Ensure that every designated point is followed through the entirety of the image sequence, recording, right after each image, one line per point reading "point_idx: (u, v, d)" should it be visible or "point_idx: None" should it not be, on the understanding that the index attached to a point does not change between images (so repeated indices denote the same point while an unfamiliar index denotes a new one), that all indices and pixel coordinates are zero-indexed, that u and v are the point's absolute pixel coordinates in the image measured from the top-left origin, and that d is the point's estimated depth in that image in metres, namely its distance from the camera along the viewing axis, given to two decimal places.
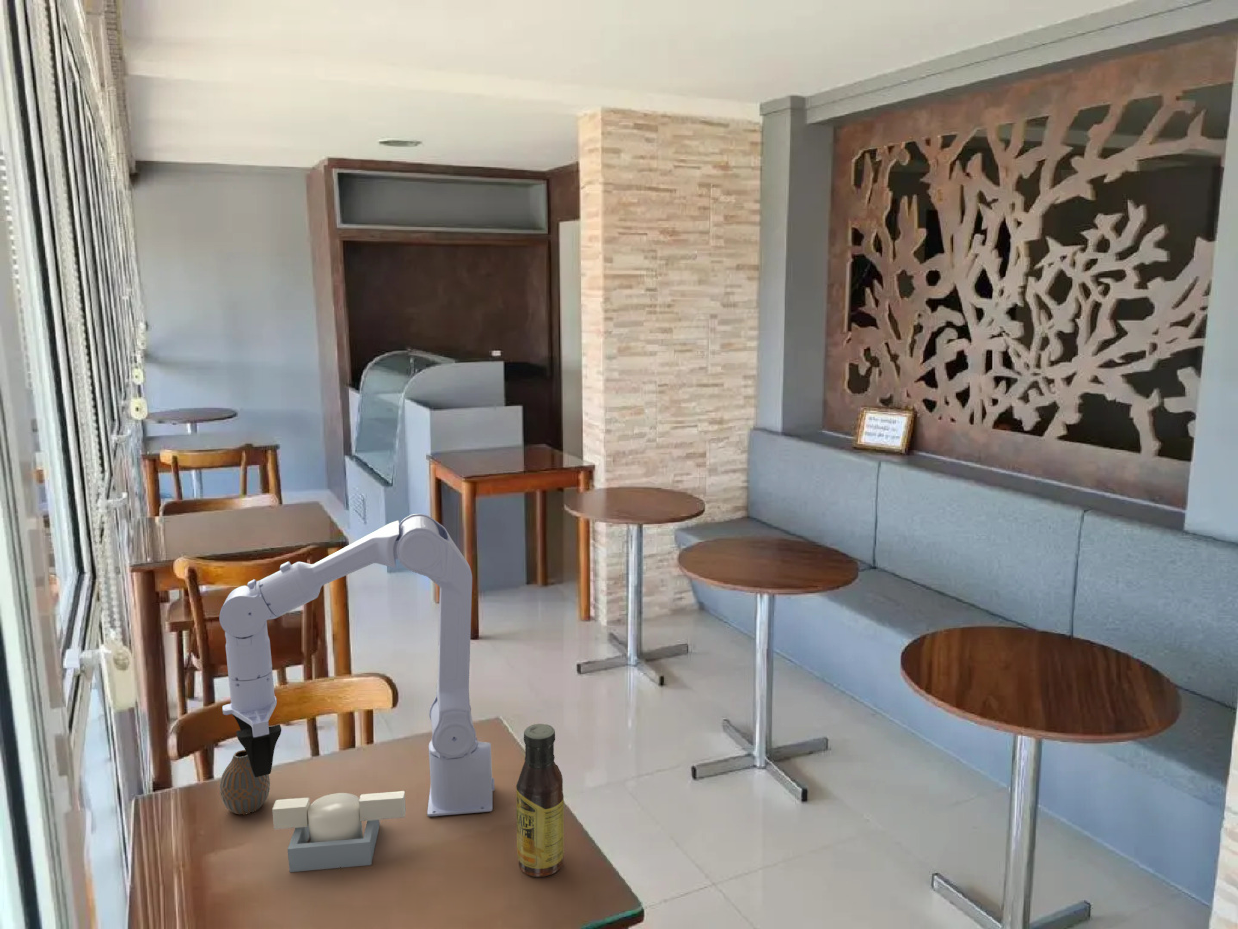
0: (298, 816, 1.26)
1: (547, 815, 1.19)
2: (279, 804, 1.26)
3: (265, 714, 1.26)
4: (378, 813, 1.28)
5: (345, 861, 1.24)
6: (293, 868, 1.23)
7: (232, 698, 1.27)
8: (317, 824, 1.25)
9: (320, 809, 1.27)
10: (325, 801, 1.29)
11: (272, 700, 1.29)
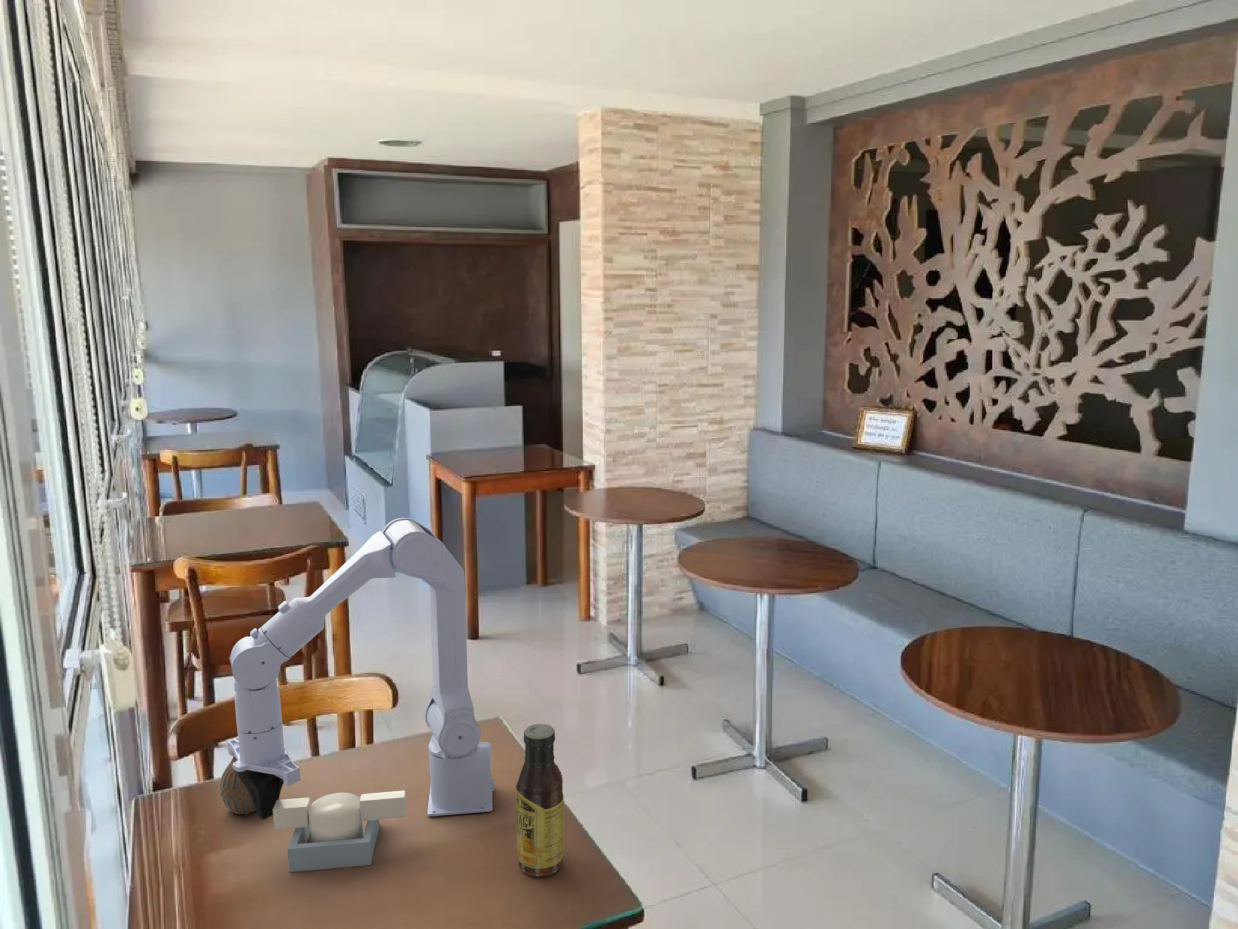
0: (299, 816, 1.26)
1: (547, 815, 1.19)
2: (279, 804, 1.26)
3: (288, 762, 1.24)
4: (379, 813, 1.28)
5: (345, 861, 1.24)
6: (293, 868, 1.23)
7: (247, 753, 1.23)
8: (318, 824, 1.25)
9: (321, 809, 1.27)
10: (325, 801, 1.29)
11: (284, 748, 1.27)
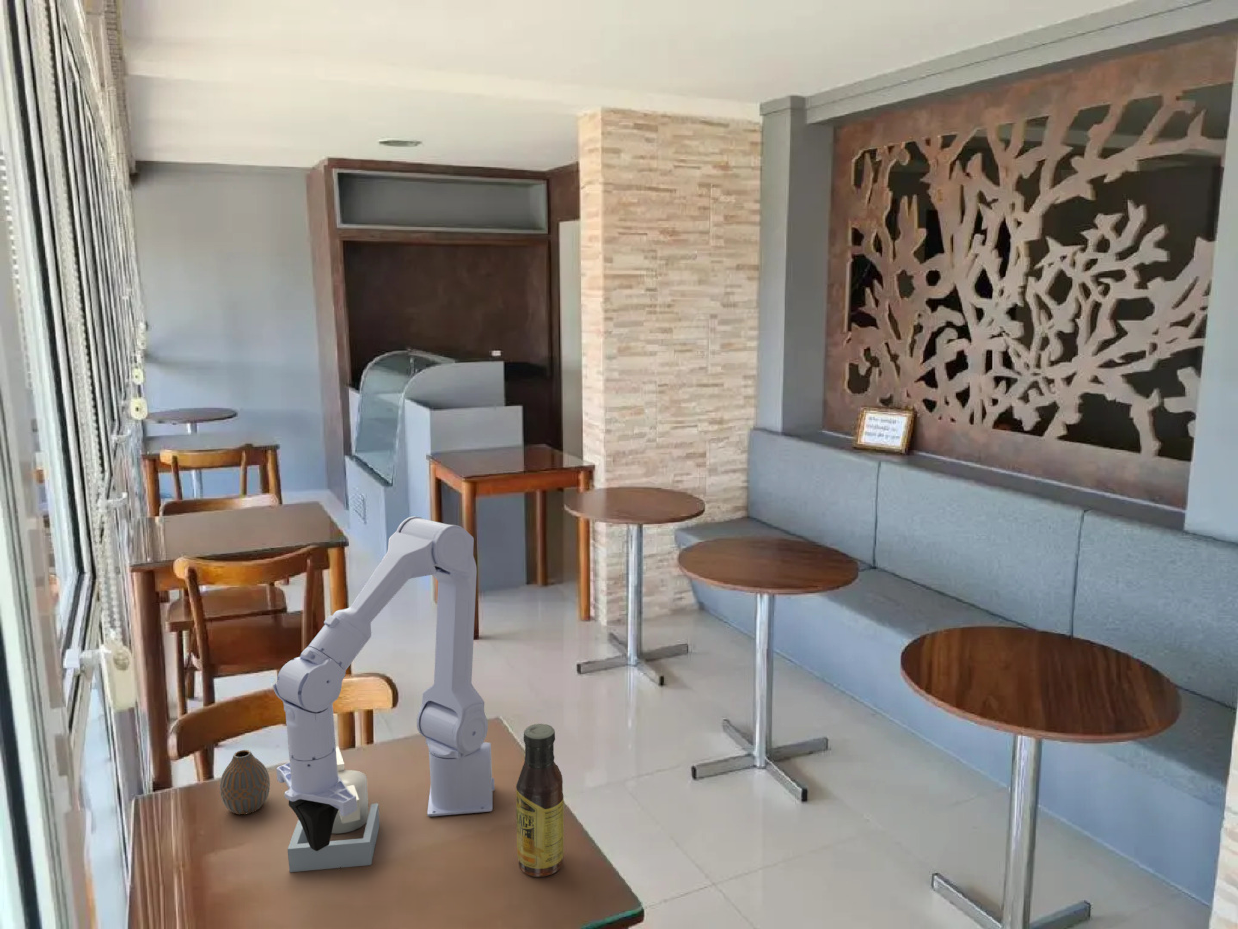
0: None
1: (547, 815, 1.19)
2: None
3: (343, 790, 1.17)
4: None
5: (345, 861, 1.24)
6: (293, 868, 1.23)
7: (300, 781, 1.16)
8: (365, 787, 1.34)
9: (347, 786, 1.33)
10: None
11: (337, 775, 1.20)
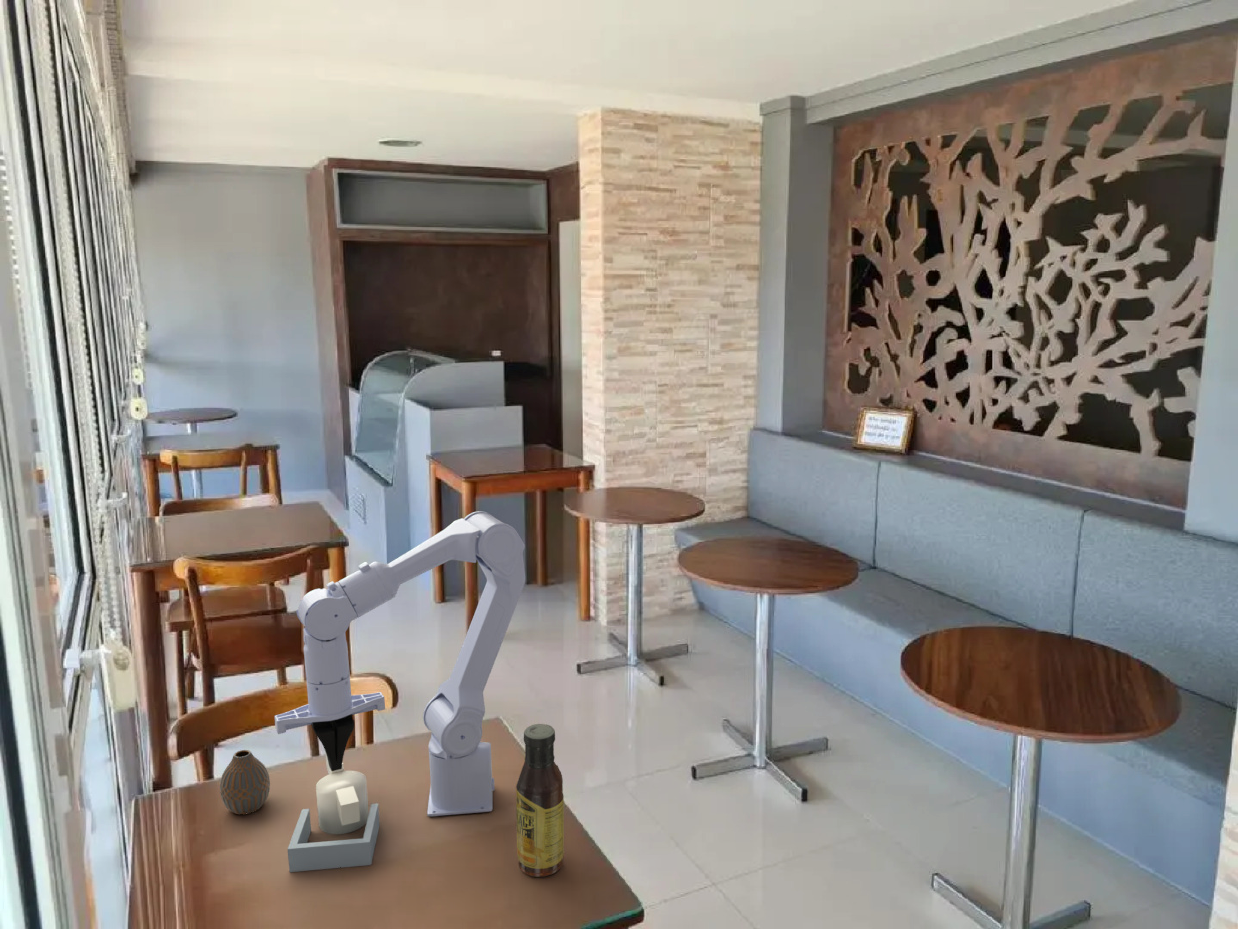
0: None
1: (547, 815, 1.19)
2: (349, 801, 1.27)
3: (296, 717, 1.25)
4: None
5: (345, 861, 1.24)
6: (293, 868, 1.23)
7: None
8: (364, 788, 1.34)
9: (346, 787, 1.32)
10: (332, 790, 1.32)
11: (322, 713, 1.25)
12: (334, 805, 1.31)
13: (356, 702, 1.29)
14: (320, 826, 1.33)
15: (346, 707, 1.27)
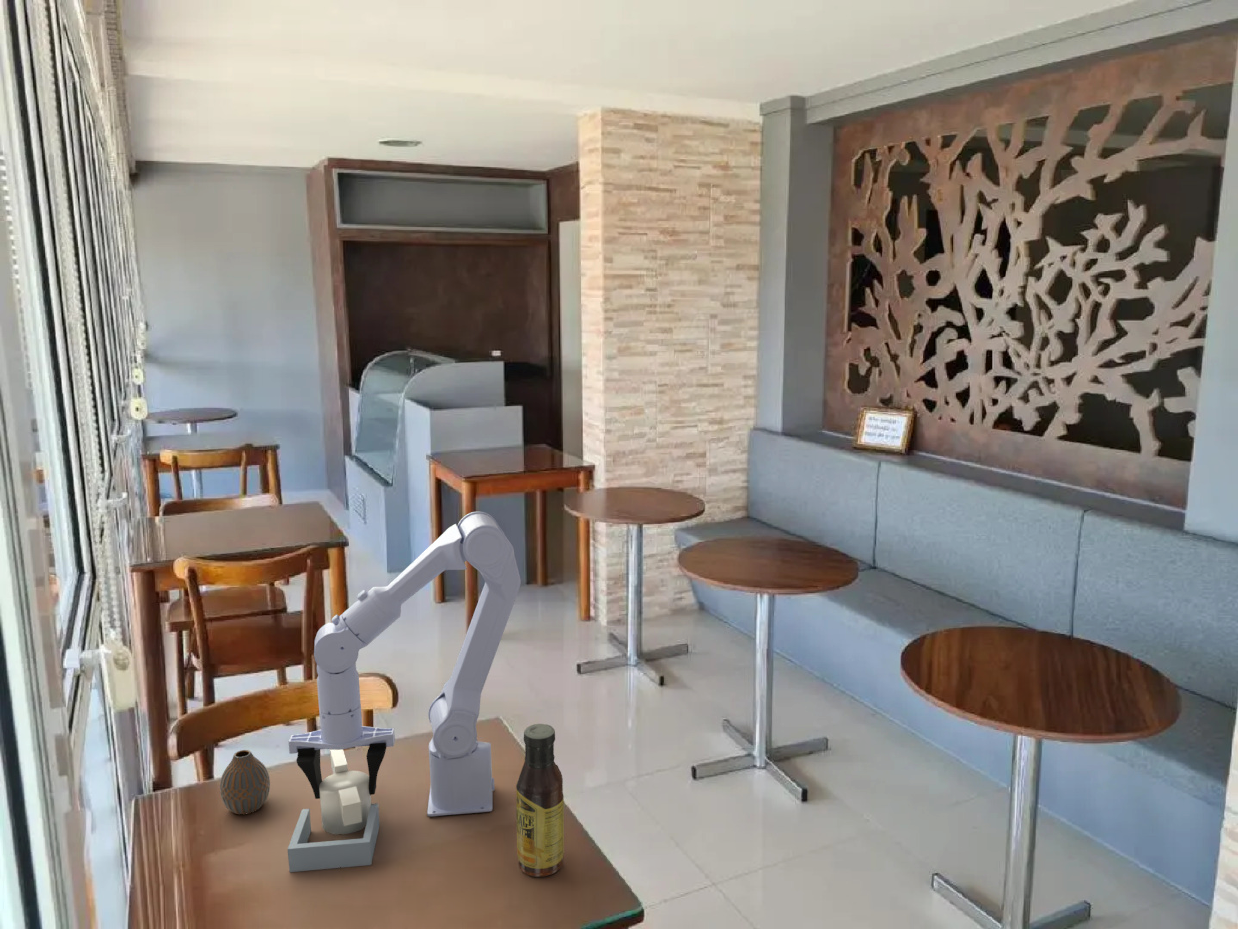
0: None
1: (547, 815, 1.19)
2: (351, 801, 1.27)
3: (306, 741, 1.31)
4: None
5: (345, 861, 1.24)
6: (293, 868, 1.23)
7: None
8: (367, 789, 1.33)
9: (349, 788, 1.32)
10: (335, 790, 1.32)
11: (327, 741, 1.30)
12: (337, 805, 1.31)
13: (366, 735, 1.33)
14: (323, 826, 1.33)
15: (352, 739, 1.31)
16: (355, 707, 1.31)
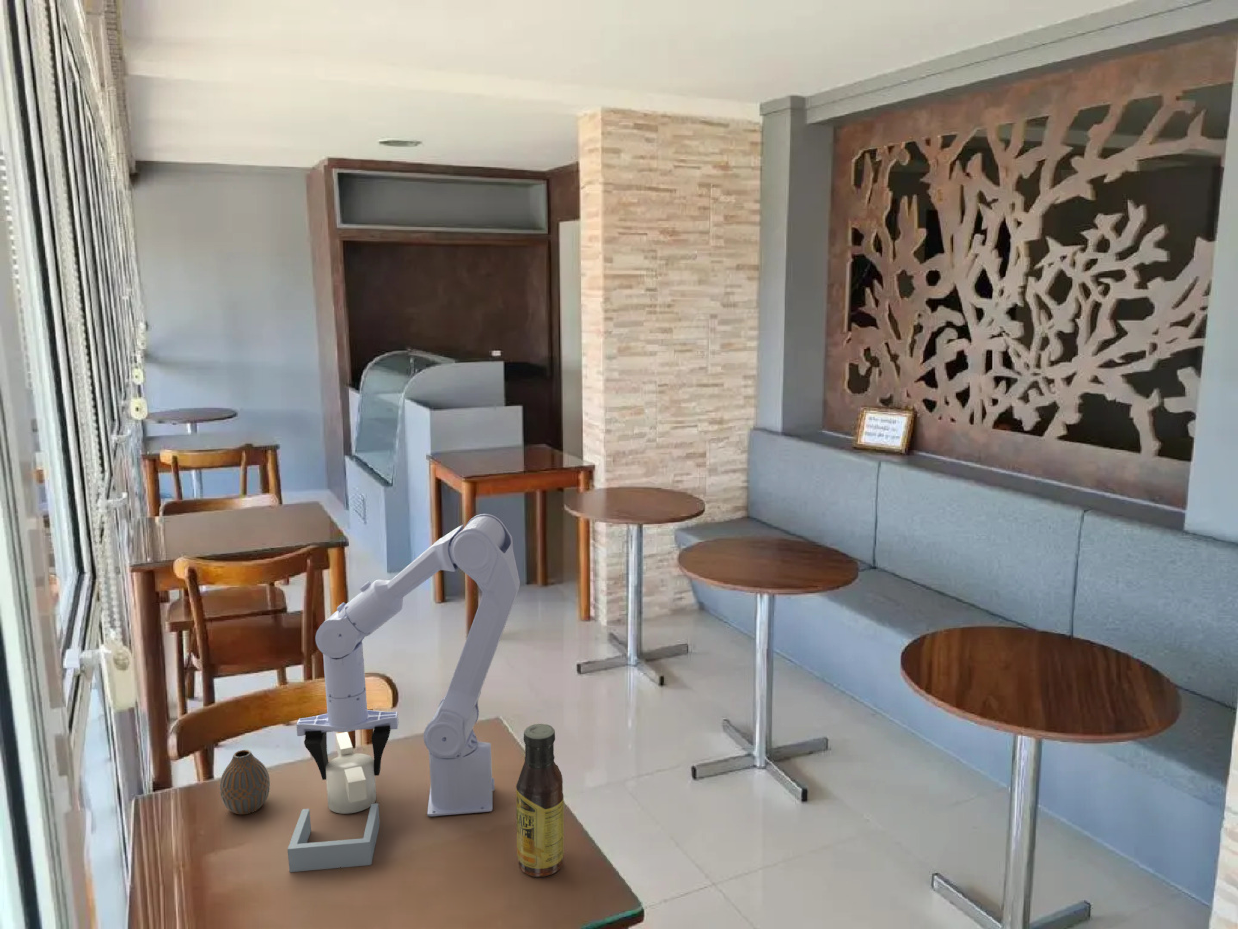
0: None
1: (547, 815, 1.19)
2: (357, 779, 1.32)
3: (314, 723, 1.37)
4: None
5: (345, 861, 1.24)
6: (293, 868, 1.23)
7: None
8: (372, 769, 1.38)
9: None
10: (341, 770, 1.37)
11: (334, 723, 1.36)
12: (343, 784, 1.35)
13: (371, 718, 1.39)
14: (329, 806, 1.38)
15: (357, 722, 1.36)
16: (355, 693, 1.35)
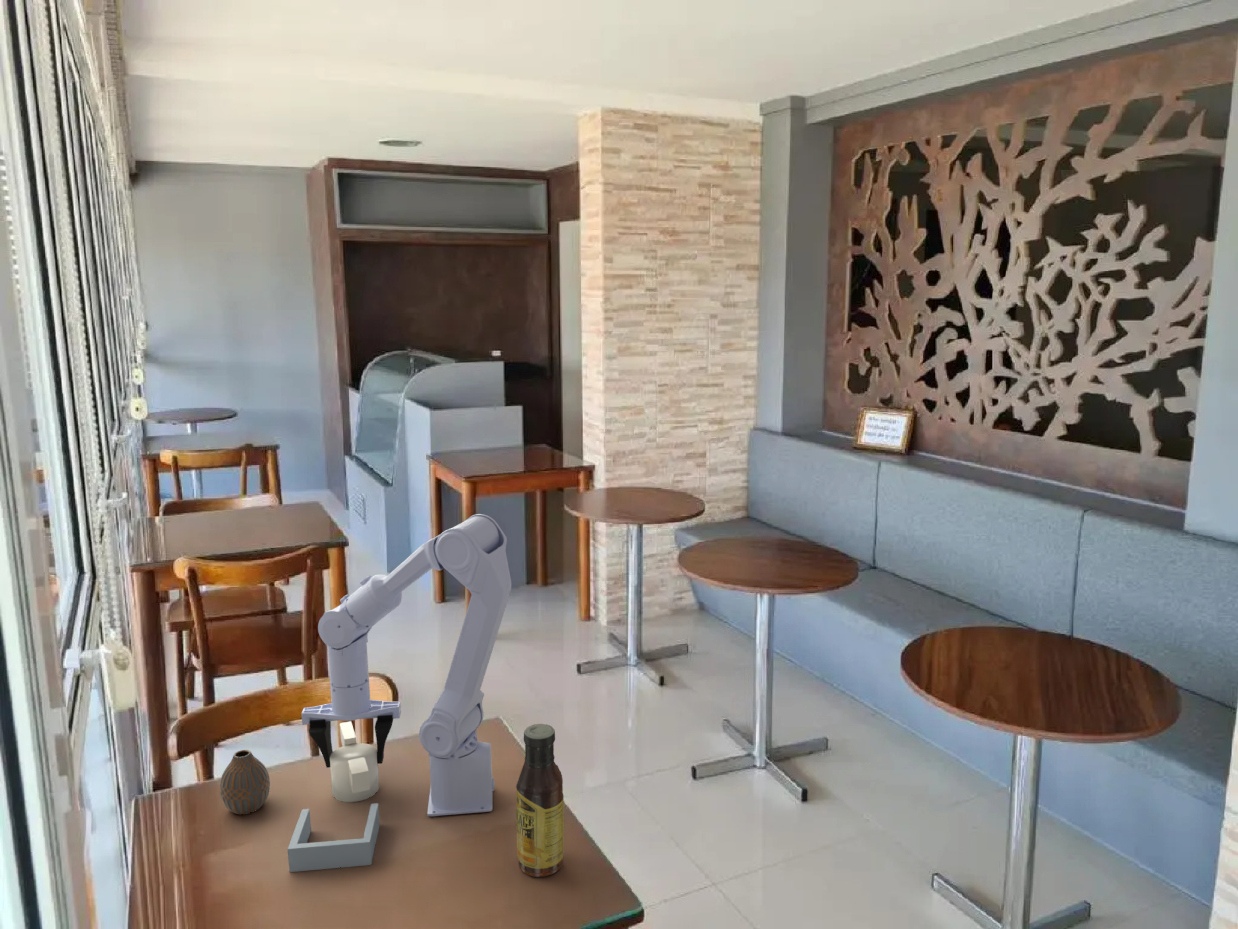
0: None
1: (547, 815, 1.19)
2: (360, 770, 1.35)
3: (318, 713, 1.40)
4: None
5: (345, 861, 1.24)
6: (293, 868, 1.23)
7: None
8: (375, 760, 1.42)
9: None
10: (344, 760, 1.40)
11: (338, 712, 1.39)
12: (346, 774, 1.39)
13: (374, 707, 1.42)
14: (333, 794, 1.41)
15: (360, 711, 1.40)
16: (355, 684, 1.39)
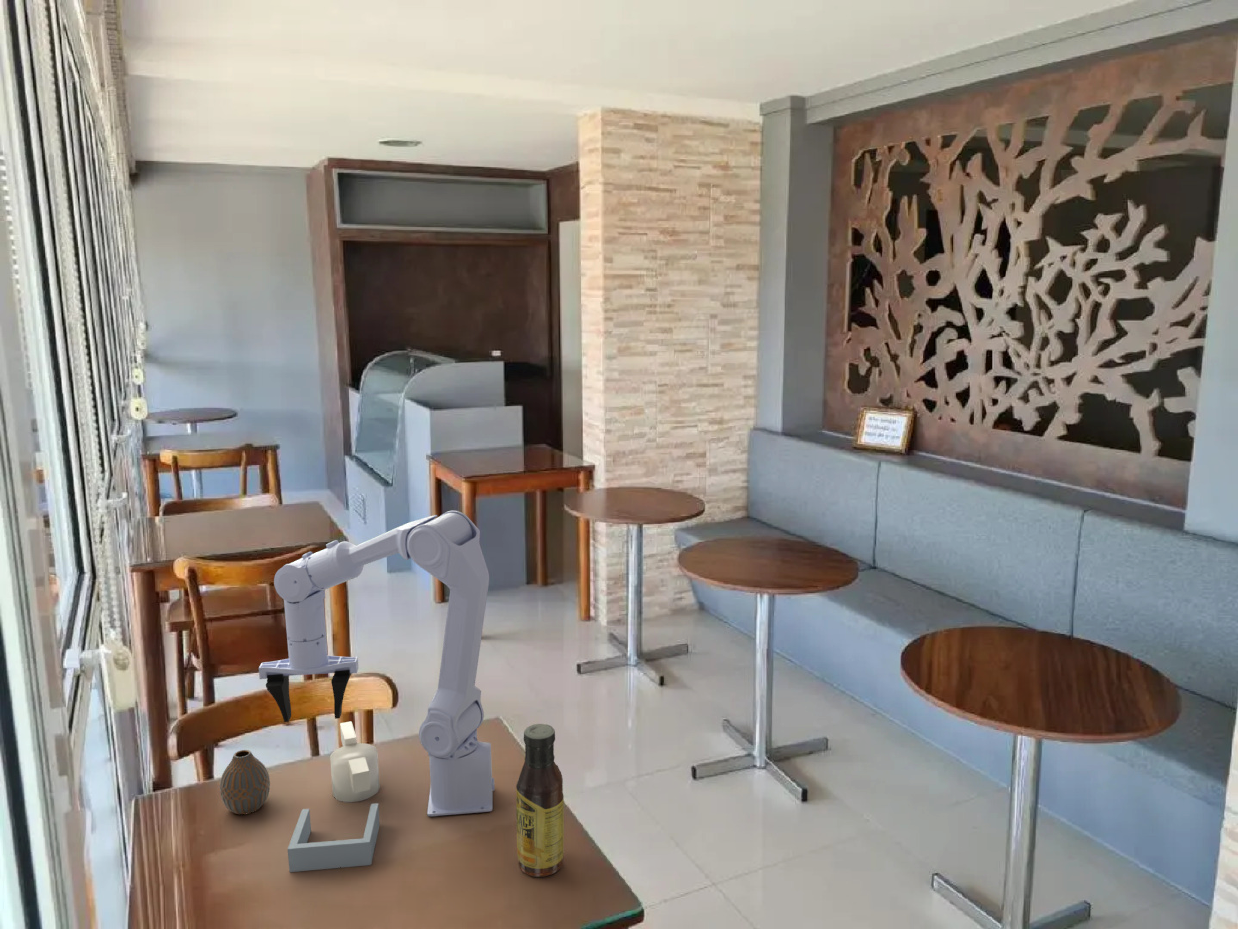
0: None
1: (547, 815, 1.19)
2: (360, 770, 1.35)
3: (275, 667, 1.41)
4: None
5: (345, 861, 1.24)
6: (293, 868, 1.23)
7: None
8: (375, 760, 1.42)
9: None
10: (345, 760, 1.40)
11: (295, 666, 1.40)
12: (347, 774, 1.39)
13: (331, 662, 1.43)
14: (334, 794, 1.41)
15: (317, 665, 1.41)
16: (311, 638, 1.40)
